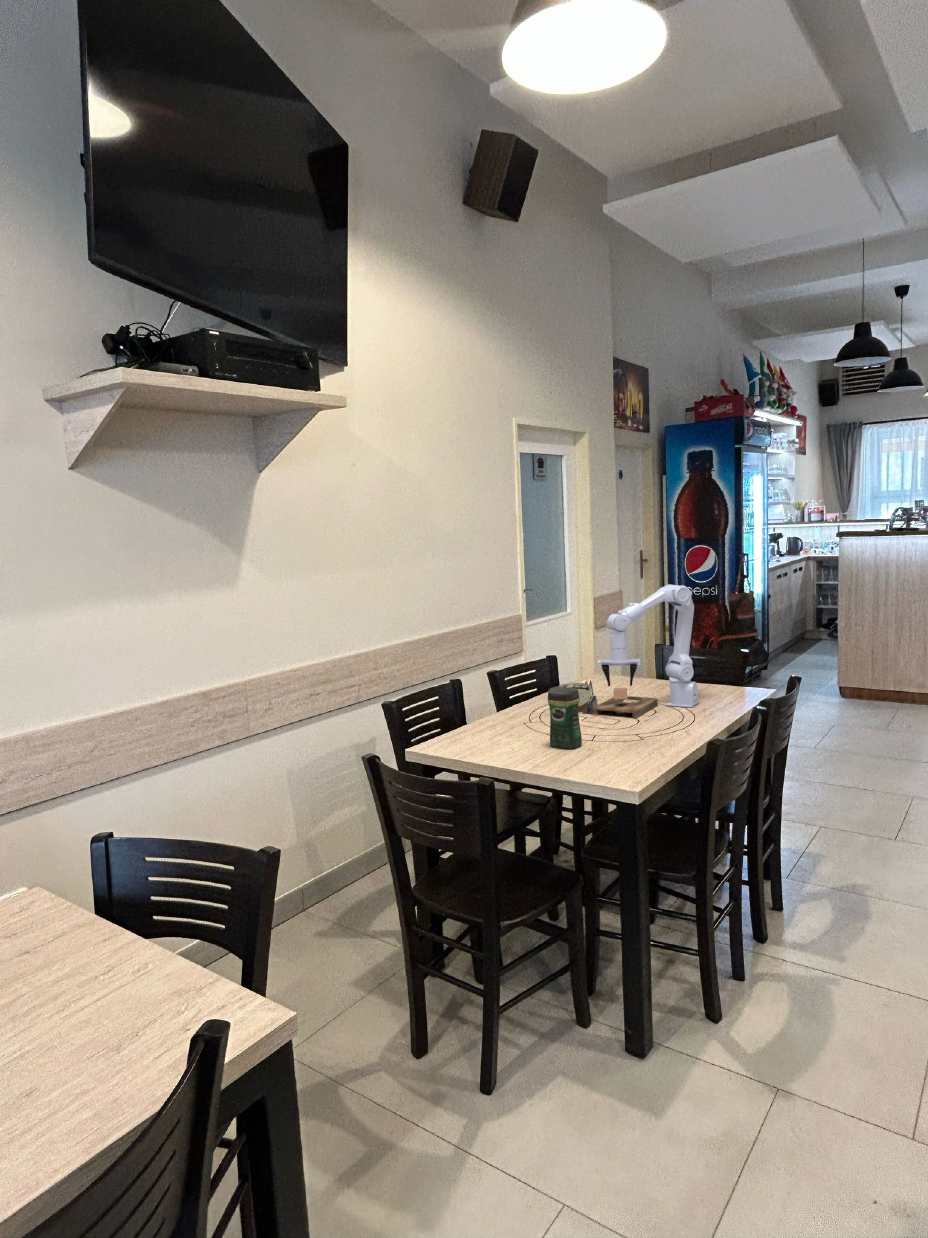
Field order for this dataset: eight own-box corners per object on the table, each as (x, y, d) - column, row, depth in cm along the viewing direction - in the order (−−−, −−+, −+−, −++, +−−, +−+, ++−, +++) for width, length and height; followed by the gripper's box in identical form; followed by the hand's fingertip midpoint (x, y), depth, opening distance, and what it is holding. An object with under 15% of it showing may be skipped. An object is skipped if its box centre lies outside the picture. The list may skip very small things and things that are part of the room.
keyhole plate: (657, 705, 291) (657, 698, 291) (636, 718, 275) (635, 710, 274) (617, 702, 301) (616, 695, 300) (593, 714, 284) (593, 707, 284)
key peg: (628, 711, 286) (627, 688, 285) (627, 714, 281) (627, 690, 280) (614, 711, 287) (613, 688, 286) (614, 714, 283) (613, 691, 282)
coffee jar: (586, 744, 247) (583, 685, 245) (572, 751, 241) (570, 691, 239) (559, 740, 253) (556, 683, 251) (546, 747, 247) (542, 688, 245)
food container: (591, 708, 294) (590, 681, 293) (592, 712, 288) (591, 685, 287) (557, 709, 295) (556, 683, 294) (558, 713, 289) (556, 686, 288)
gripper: (639, 645, 284) (640, 682, 285) (598, 646, 287) (600, 683, 288) (639, 648, 277) (640, 686, 278) (597, 649, 280) (599, 687, 282)
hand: (620, 685), depth 283 cm, fingers open, 7 cm apart
